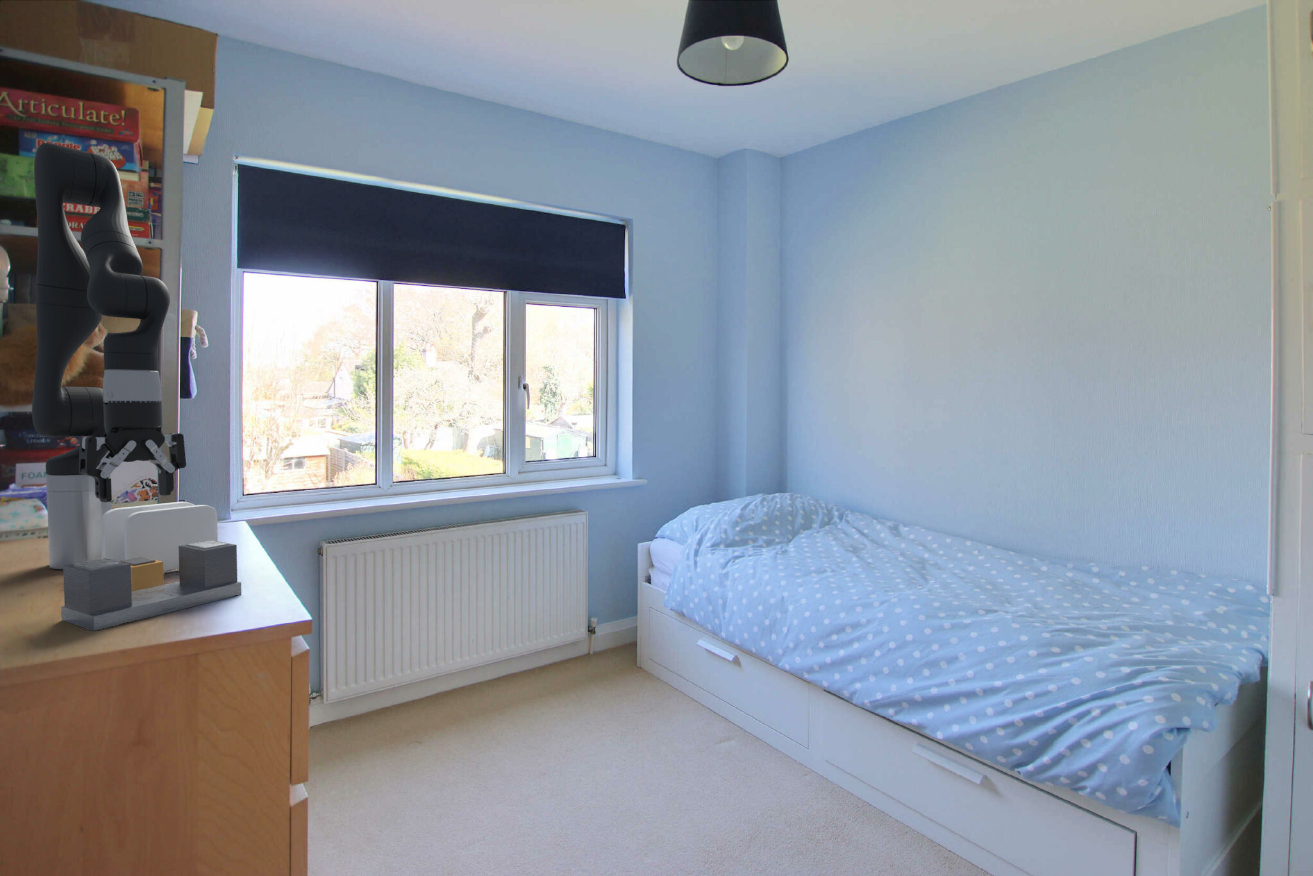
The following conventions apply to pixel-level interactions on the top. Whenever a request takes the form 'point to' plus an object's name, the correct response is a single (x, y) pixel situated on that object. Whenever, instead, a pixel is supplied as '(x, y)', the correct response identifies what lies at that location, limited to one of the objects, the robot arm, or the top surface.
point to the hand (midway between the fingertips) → (136, 498)
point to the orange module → (145, 573)
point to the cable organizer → (156, 531)
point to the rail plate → (107, 600)
